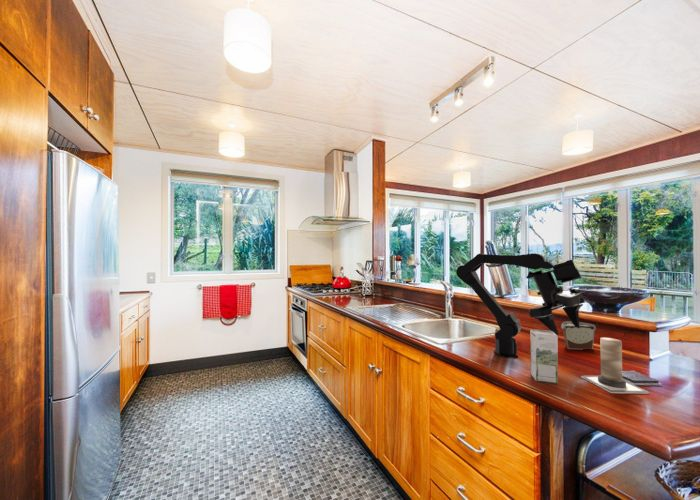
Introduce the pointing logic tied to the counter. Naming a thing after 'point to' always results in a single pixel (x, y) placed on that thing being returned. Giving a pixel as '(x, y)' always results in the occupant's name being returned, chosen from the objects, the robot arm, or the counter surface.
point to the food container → (578, 335)
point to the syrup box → (544, 355)
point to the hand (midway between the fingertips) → (567, 330)
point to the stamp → (611, 363)
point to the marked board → (628, 389)
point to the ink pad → (639, 378)
